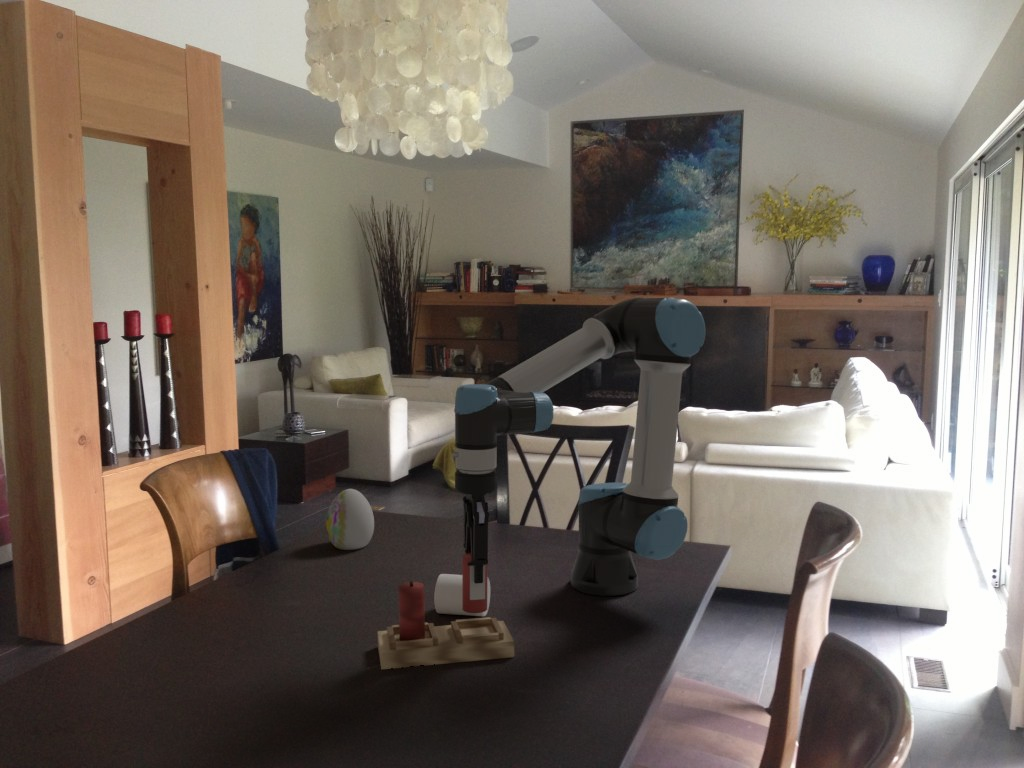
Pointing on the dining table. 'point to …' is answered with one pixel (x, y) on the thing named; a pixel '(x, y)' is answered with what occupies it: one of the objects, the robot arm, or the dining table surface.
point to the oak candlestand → (439, 636)
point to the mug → (453, 595)
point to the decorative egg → (350, 521)
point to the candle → (468, 604)
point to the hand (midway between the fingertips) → (475, 593)
